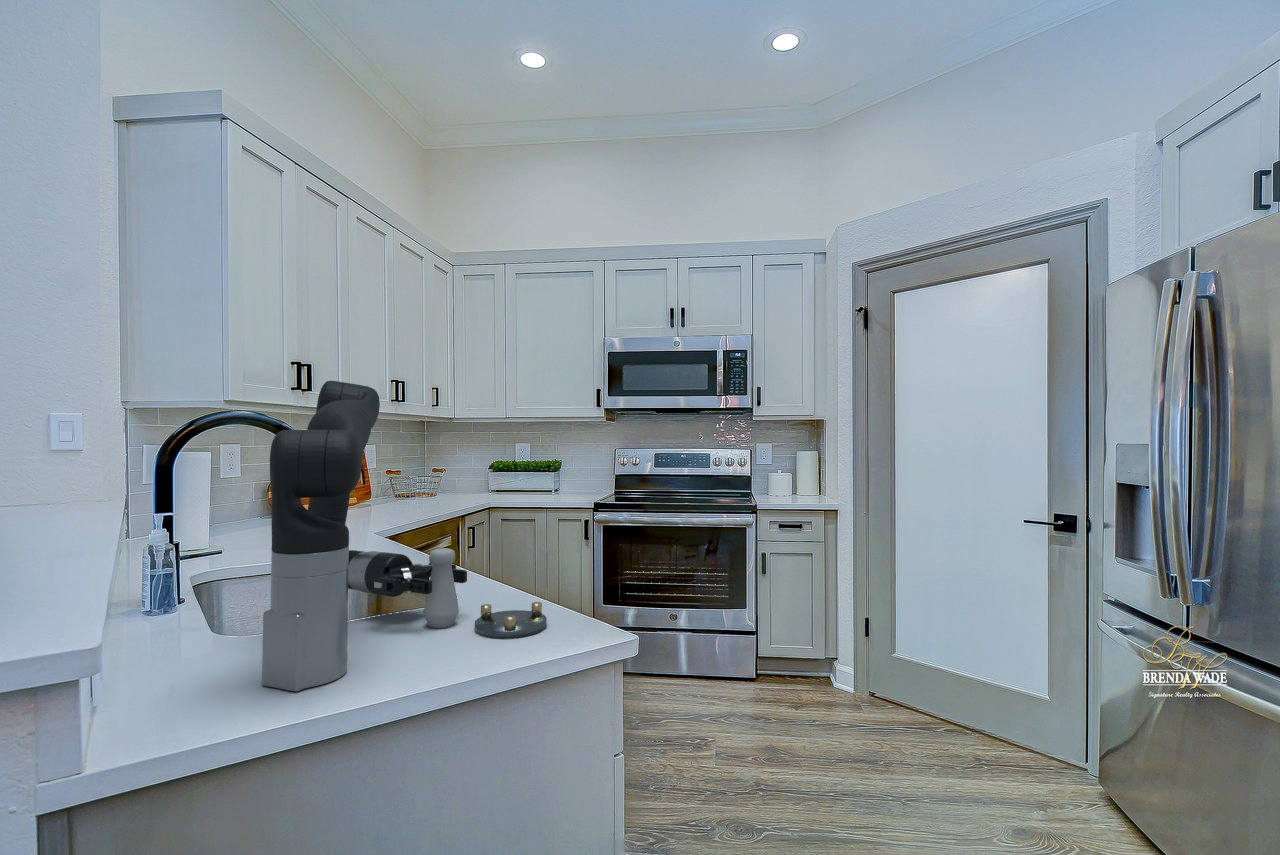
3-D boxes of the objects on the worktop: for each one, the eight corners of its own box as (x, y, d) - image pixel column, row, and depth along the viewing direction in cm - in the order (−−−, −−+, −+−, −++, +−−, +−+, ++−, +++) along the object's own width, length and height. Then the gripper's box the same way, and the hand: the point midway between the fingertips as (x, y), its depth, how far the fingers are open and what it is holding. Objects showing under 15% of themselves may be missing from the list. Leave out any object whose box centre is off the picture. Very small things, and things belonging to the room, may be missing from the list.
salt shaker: (436, 632, 100) (437, 553, 100) (416, 625, 104) (417, 549, 104) (465, 623, 105) (466, 548, 105) (445, 617, 108) (446, 545, 108)
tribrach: (523, 642, 95) (523, 622, 95) (459, 633, 99) (460, 614, 99) (558, 621, 107) (558, 602, 107) (500, 614, 111) (500, 596, 111)
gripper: (347, 559, 104) (418, 568, 97) (409, 546, 117) (476, 553, 110) (346, 603, 104) (417, 614, 97) (409, 585, 117) (476, 594, 110)
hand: (448, 582), depth 104 cm, fingers open, 8 cm apart
